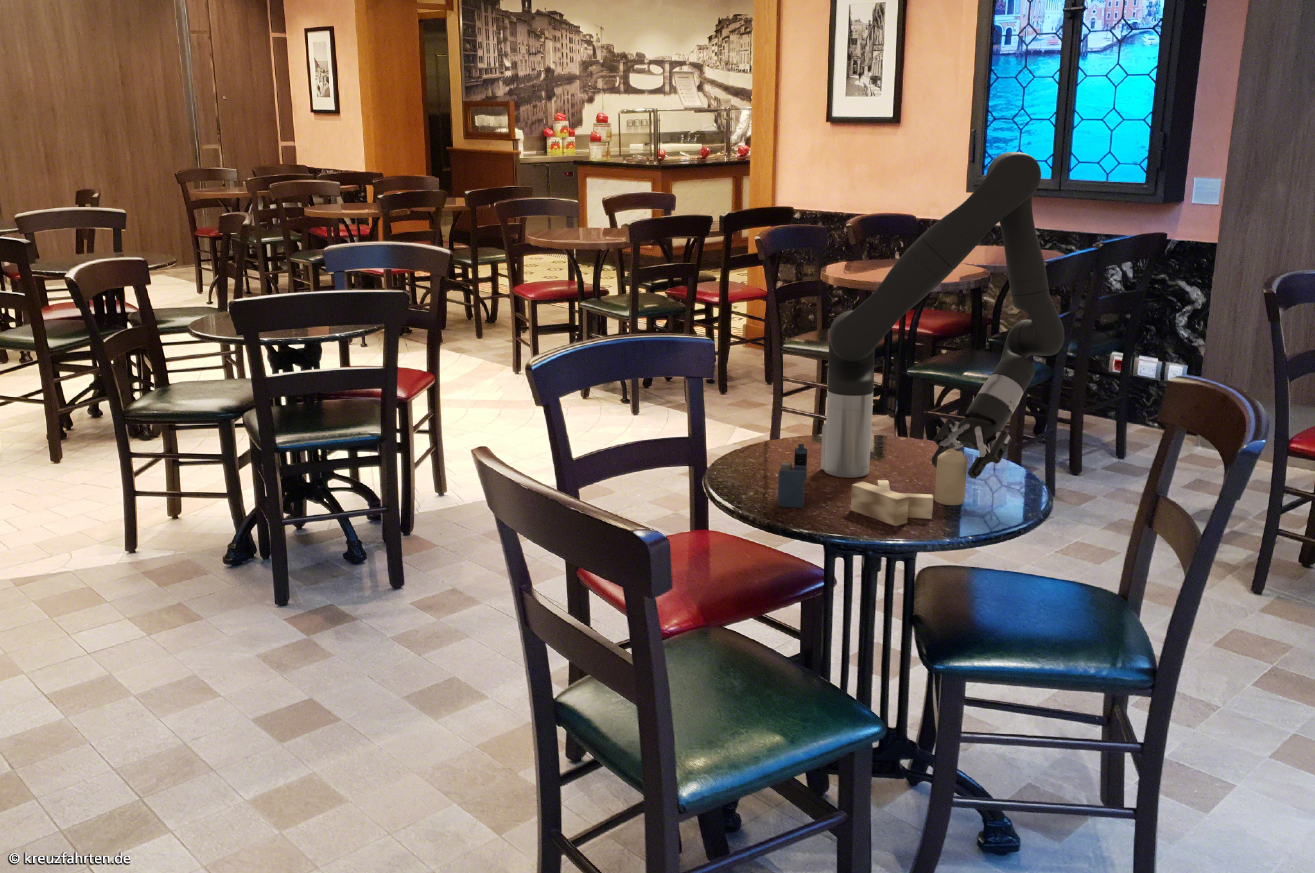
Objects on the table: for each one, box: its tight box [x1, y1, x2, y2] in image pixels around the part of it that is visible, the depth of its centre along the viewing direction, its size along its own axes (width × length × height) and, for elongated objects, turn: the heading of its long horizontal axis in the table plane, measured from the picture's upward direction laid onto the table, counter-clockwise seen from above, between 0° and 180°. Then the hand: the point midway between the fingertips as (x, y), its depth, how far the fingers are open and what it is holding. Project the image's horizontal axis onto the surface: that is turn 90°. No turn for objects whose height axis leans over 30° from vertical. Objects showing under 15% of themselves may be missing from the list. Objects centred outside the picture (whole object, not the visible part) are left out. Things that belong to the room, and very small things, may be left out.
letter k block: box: [850, 479, 934, 527], centre depth 201 cm, size 13×10×5 cm
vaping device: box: [777, 443, 808, 509], centre depth 204 cm, size 3×5×12 cm, turn 78°
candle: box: [934, 449, 968, 506], centre depth 207 cm, size 6×6×10 cm
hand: (952, 470), depth 207 cm, fingers open, 8 cm apart
